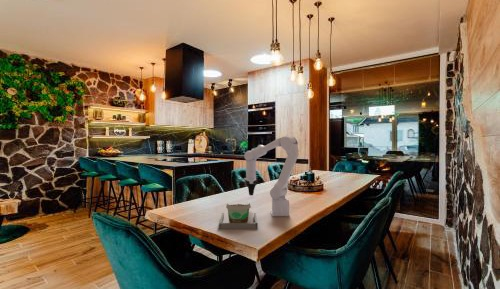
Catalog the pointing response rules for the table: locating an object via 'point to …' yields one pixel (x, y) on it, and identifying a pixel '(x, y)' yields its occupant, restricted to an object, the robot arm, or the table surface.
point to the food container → (238, 213)
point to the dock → (238, 224)
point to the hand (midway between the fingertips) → (251, 193)
